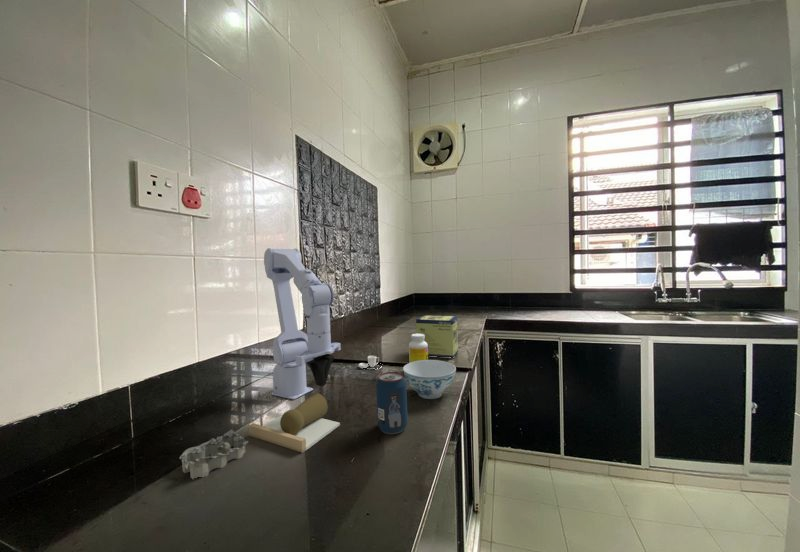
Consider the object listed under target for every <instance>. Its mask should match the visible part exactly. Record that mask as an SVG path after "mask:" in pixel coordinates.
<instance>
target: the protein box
mask: <svg viewBox="0 0 800 552" xmlns="http://www.w3.org/2000/svg"><path fill="white" fill-rule="evenodd" d="M415 325H416V326H415V327H416V328H415V329H416V330H415V331H416V332H415V334H424V335H425V338H424V341H425V342H426V343H427V344H428V356H437V357H451V358H453V357H454V356H455V355H456V354H457V355H458V353H459V344H458V343H459V340H458V339H459V337H458V336H459V335H458V316H457V315H422V316H420V317H418V318H416V319H415ZM457 352H458V353H457ZM457 355H456V356H457ZM456 356H455V357H456ZM455 357H454V358H455Z"/></svg>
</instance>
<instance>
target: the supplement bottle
mask: <svg viewBox="0 0 800 552" xmlns="http://www.w3.org/2000/svg"><path fill="white" fill-rule="evenodd" d="M410 338H411V341H410V342H409V344H408V354H409V355H408V356H409V357H408V359H409V360H408V361H409V363H411V362H415V361H420V360H429V357H428V344H427V343H426V342H425V341H424V338H425V335H424V334H416V333H412V334H411V337H410Z"/></svg>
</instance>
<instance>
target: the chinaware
mask: <svg viewBox="0 0 800 552" xmlns="http://www.w3.org/2000/svg"><path fill="white" fill-rule="evenodd" d="M402 369H403V376H404V379H405V381H406V383H407V384H408V385H409V386H410V388H411V389H412V390H414V391H415V392H417V394H418V396H419V397H421V398H422V399H427V400H434V399H438V398H440V397H441V396H442V395H443V393H444V392H445V391H446V390H448V388H449V387H450V386H451V385H452V383H453V382H454V379H455V377H456V376H455V375H456V371H457V368H456V366H455V365H454V364H453V363H452V362H451V363H450V362H447V361H445V360H440V359H439V360H438V359H428V360H420V361H415V362H411V363H407V364H405V365H403V368H402Z"/></svg>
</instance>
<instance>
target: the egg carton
mask: <svg viewBox="0 0 800 552" xmlns="http://www.w3.org/2000/svg"><path fill="white" fill-rule="evenodd" d="M248 443H249V441H248V440H245V437H244V436H241V434H239V433H238V432H237V433H236V432H235V431H234V430H233V429H231V428H230V429H229V431H227V432H225V433H223V434H222V435H220V436H217V437H216V438H213V437H212V438H210V439H209V440H208V441H206V442H203V443H201V444H199V445H196V446H192V447H189V448H187V449H185V450H184V451H183V453H182V454H181V455H180V456H179V460H181V464H182V465H181V466H182V472H183V473H184V474H187V473H190V479H191V478H192V480H195V479H194V478H196V479H198V478H197V477H203V478H205V477H208V476H209V473H210V472H211V471H213V470H214V469H219V468H220V469H222V468H224V467H225V466H227V463H228V462H230V461H232V460H236V459H238V460H239V459H241V458H243V457H244V454H245V453H246V452H247V451H246V445H247V444H248ZM232 447H233V448H232ZM204 476H205V477H204Z"/></svg>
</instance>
